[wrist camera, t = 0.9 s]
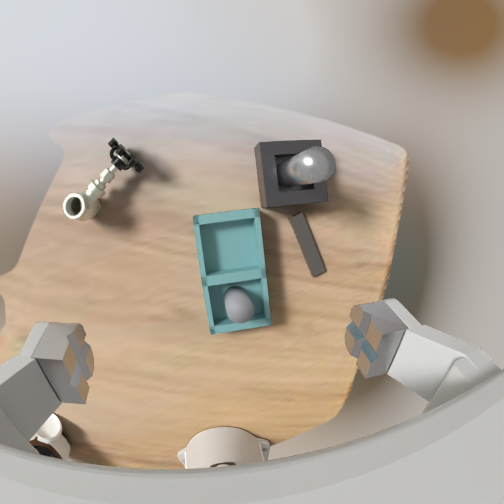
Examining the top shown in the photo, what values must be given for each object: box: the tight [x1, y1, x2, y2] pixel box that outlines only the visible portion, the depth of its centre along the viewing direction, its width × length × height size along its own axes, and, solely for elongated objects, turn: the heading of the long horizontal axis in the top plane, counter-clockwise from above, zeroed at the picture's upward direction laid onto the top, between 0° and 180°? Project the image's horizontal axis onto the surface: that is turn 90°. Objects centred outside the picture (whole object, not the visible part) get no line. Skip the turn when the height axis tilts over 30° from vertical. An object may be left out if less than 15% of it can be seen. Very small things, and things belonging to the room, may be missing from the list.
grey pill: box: [276, 146, 336, 187], centre depth 37 cm, size 4×4×12 cm
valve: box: [63, 138, 144, 221], centre depth 37 cm, size 7×7×12 cm
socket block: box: [254, 140, 328, 207], centre depth 42 cm, size 9×9×4 cm
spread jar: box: [29, 414, 70, 460], centre depth 38 cm, size 12×11×12 cm
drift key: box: [288, 212, 325, 277], centre depth 46 cm, size 10×2×1 cm, turn 24°
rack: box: [193, 208, 271, 334], centre depth 41 cm, size 17×9×7 cm, turn 7°
